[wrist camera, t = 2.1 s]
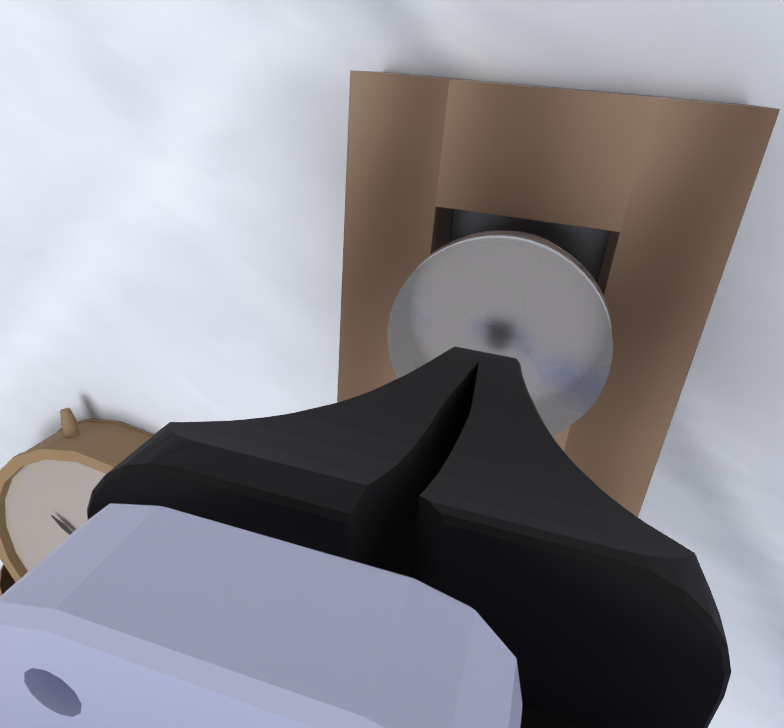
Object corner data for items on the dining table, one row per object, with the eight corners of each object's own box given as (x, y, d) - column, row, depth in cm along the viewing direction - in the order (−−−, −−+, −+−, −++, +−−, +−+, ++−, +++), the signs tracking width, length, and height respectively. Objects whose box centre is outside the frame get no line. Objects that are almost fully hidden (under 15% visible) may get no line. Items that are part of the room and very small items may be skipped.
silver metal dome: (629, 222, 15) (640, 258, 12) (583, 398, 17) (583, 465, 14) (431, 196, 16) (396, 222, 13) (413, 364, 18) (380, 419, 15)
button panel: (749, 104, 15) (779, 109, 13) (568, 659, 25) (566, 721, 23) (383, 72, 17) (350, 70, 15) (350, 594, 27) (327, 644, 25)
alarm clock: (231, 523, 24) (137, 754, 29) (279, 469, 28) (191, 676, 33) (-2, 398, 25) (-53, 643, 30) (82, 366, 29) (26, 583, 34)
